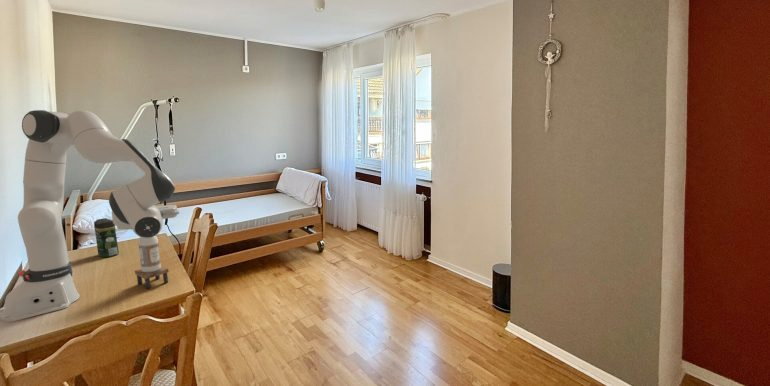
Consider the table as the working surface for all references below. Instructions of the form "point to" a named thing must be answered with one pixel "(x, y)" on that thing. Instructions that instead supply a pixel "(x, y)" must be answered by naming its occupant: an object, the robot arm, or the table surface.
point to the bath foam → (149, 254)
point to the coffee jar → (106, 237)
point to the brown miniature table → (151, 274)
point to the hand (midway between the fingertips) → (145, 209)
